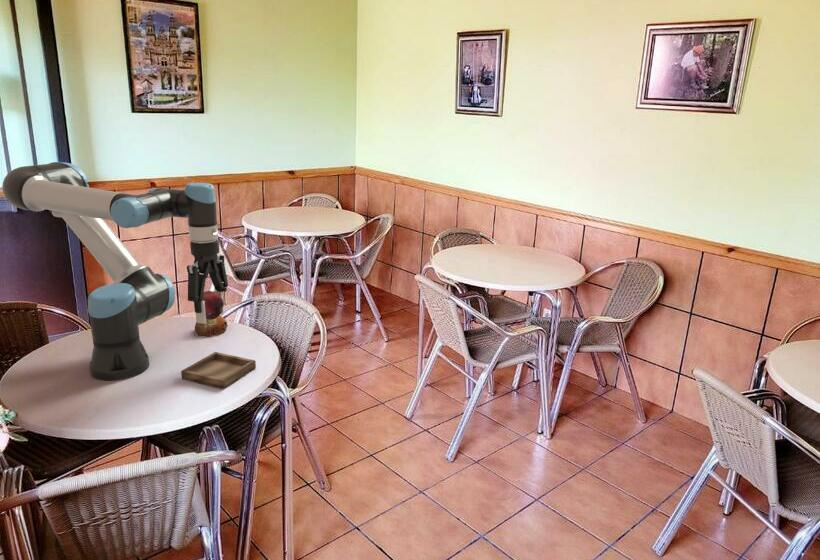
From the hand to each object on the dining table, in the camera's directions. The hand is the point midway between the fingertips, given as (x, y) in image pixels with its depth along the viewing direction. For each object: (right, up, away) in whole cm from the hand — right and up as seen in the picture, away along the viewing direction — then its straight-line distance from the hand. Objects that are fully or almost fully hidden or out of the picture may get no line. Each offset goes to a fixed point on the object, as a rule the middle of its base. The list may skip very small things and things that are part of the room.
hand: (210, 317), depth 171 cm
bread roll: (-8, -6, +25) cm, 27 cm away
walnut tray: (+4, -15, -4) cm, 16 cm away
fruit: (0, -1, 0) cm, 1 cm away
